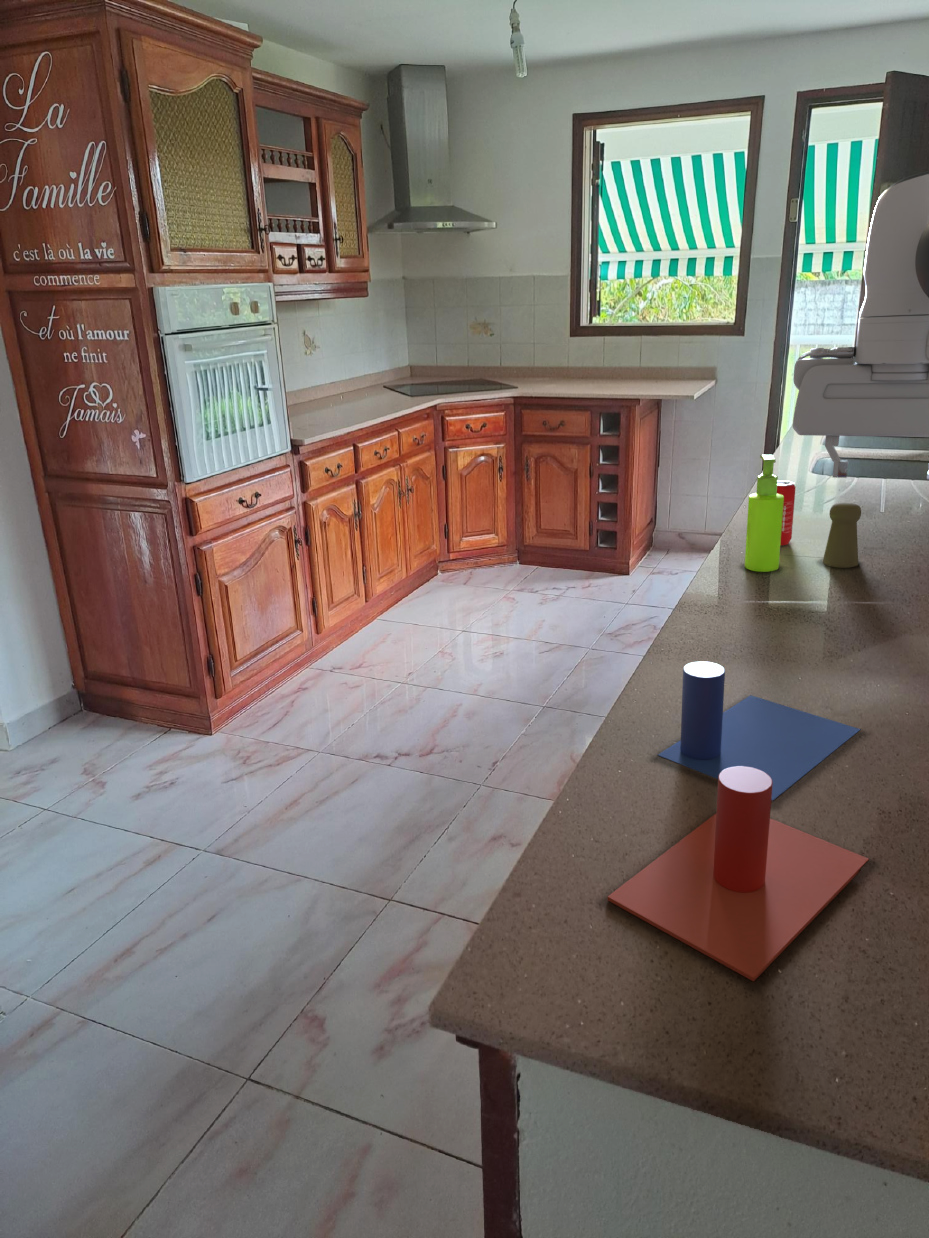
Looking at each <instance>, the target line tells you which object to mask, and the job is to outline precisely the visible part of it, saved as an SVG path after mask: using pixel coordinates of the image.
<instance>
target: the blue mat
mask: <svg viewBox="0 0 929 1238" xmlns="http://www.w3.org/2000/svg"><path fill="white" fill-rule="evenodd" d="M860 731H861V728H858V727H855V726H851V725H849V724H845V723H842V722H839V721H835V720H832V719H829V718H825V717H822V716H820V715H816V714H813V713H809V712H806V711H804V710H800V709H796V708H793V707H791V706H787V705H784V704H781V703H777V702H774V701H770V700H768V699H764V698H761V697H757V696H755V695H752V694H750V695H748V696H747V697H746V698H743V699H742V700H741V701H739V702H738V703H736V704H734V705H733V706H730V708H728V709H726V710H725V711H723V719H722V738H721V753H720V754H719V756H717V757H716V758H713V759H708V760H699V759H693V758H690V757H688V756H686V755H684V754H683V753H682V752H681V749H680V746H681V739H680V740H678V741H677V742H675V743H674V744H672V745H671V746H669V747H668V748H666V749H664V750H663V751H661V752H660V753H659V754H657V756H658V757H661V758H663V759H666V760H668V761H670V762H673V763H676V764H678V765H681V766H683V767H686V768H688V769H690V770H694V771H695V772H699V773H700V774H703V775H706V776H709V777H712V778H714V779H716V780H718V776H719V774H720V773H721V772H722V771H723V770H725V769H727V768H730V767H736V766H745V767H752V768H756V769H759V770H761V771H763V772H765V773H766V774H768V775H769V776H770V777H771V779H772V782H773V786H772V798H771V802H772V801H775V800H776V799H777V798H779V797H780V796H781V795H782V794H783V793H785V792H786V791H787V790H788V789H790V788H791V787H792V786H793V785H794V784H796V783H797V782H798V781H799V780H801V779H802V778H803V777H805V776H806V775H807V774H808V773H809V772H811V771H812V770H813V769H814V768H816V767H817V766H818V765H819V764H820V763H822V762H823V761H824V760H826V759H827V758H828V757H829V756H830V755H832V754H833V753H834V752H835V751H837V750H838V749H839V748H840V747H841V746H843V745H844V744H846V742H848V741H849V740H851V738H853V737H854V736H855V735H856V734H857V733H859V732H860Z"/></svg>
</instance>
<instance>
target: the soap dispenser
mask: <svg viewBox="0 0 929 1238" xmlns="http://www.w3.org/2000/svg"><path fill="white" fill-rule="evenodd" d="M759 458H760V459H761V460H762V463H763V464H762V473H760V474H759V475H757V477H756V492H754V493H751V494H749V495H748V502H747V519H746V521H747V522H746V538H745V554H744V568H745V569H746V570H749V571H752V572H758V573H759V572H760V573H769V572H774V571H777V570H778V569H779V568H780V555H781V546H780V543H781V530H782V517H783V503H784V496H783V495H781V494H778V493H777V481H778V480H779V479H778V478H779V477H778V475H777V474H775V473H774V465H775V463H776V457H775V455H774V454H760V455H759Z"/></svg>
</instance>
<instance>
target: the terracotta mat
mask: <svg viewBox="0 0 929 1238" xmlns="http://www.w3.org/2000/svg"><path fill="white" fill-rule="evenodd" d="M715 831H716V813H714V814H712V816H710V817H709V818H708V819H707V820H705V821H704V822H702V823H701V824H700V825H699V826H697V827H696V828H695V829H694V830H692V831H691V832H690V833H688V834H687V835H686V836H684V837H683V838H682V839H680V840H679V841H678V842H677V843H675V844H674V845H673V846H671V847H670V848H669V849H668V850H666V851H665V852H664V853H662V854H661V855H660V856H658V857H657V858H655V860H654V861H652V862H651V863H649V864H648V865H647V866H645V867H644V868H642V870H640V871H639V872H638V873H636V874H635V875H633V876H632V877H631V878H630V879H629V880H627V881H626V882H624V883H623V884H622V885H620V886H619V887H618V888H617V889H616V890H614V891H613V892H611V893H610V894H609V895H607V898H606V899H607V902H610V903H611V904H614V905H616V906H617V907H619V908H620V909H623V910H624V911H626V912H628V913H629V914H632V915H633V916H634V917H637V918H639V919H641V921H644V922H646V923H647V924H649V925H651V926H653V927H655V928H657V929H658V930H660V931H661V932H663V933H665V934H668V935H669V936H671V937H673V938H674V939H676V940H678V941H680V942H681V943H683V944H685V945H687V946H689V947H691V948H692V949H694V950H696V951H697V952H700V953H701V954H703V955H705V956H707V957H708V958H710V959H712V960H713V961H716V962H717V963H719V964H721V965H723V966H724V967H726V968H728V969H730V970H732V971H734V972H735V973H737V974H739V975H741V976H742V977H744V978H746V979H747V980H750V981H752V982H755V981H756V980H757V979H758V978H759V977H760V976H761V975H762V974H763V973H764V971H765V970H767V968H768V967H769V966H770V965H771V964H773V962H774V961H775V960H776V959H777V958H778V957H779V956H780V955H781V954H782V953H783V952H784V951H785V950H786V949H787V948H788V947H789V945H791V944H792V942H793V941H794V940H795V939H797V937H798V936H799V935H800V934H801V933H802V932H803V931H804V930H805V929H806V928H807V927H808V926H809V925H810V924H811V923H812V922H813V921H814V920H815V918H816V917H818V915H820V913H822V912H823V910H824V909H826V907H827V906H828V905H829V904H830V903H831V902H832V901H833V900H834V899H835V898H836V897H837V896H838V895H839V893H841V892H842V890H844V889H845V888H846V886H848V885H849V884H850V882H851V881H853V880H854V879H855V877H856V876H857V875H858V874H859V873H860V872H861V870H862V869H861V868H863V866H864V865H865V864H866V863H867V862H868V861H869V860H870V858H868V857H866V856H863V855H861V854H858V853H856V852H854V851H851V850H849V849H846V848H843V847H842V846H838V845H836V844H834V843H832V842H829V841H826V840H825V839H822V838H820V837H816V836H814V835H812V834H810V833H807V832H804V831H802V830H800V829H798V828H795V827H792V826H790V825H788V824H785V823H782V822H780V821H778V820H775V819H773V818H771V817H770V824H769V837H768V850H767V863H766V876H765V883H764V885H763V886H762V887H761V888H760V889H758V890H756V891H753V892H746V893H742V892H735V891H731V890H728V889H726V888H724V887H723V886H721V885H720V884H719V883H718V882H717V881H716V880H715V878H714V875H713V869H714V850H715Z"/></svg>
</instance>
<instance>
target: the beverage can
mask: <svg viewBox="0 0 929 1238" xmlns="http://www.w3.org/2000/svg"><path fill="white" fill-rule="evenodd" d="M795 484H796V483H795V482H794V481H792V480H787V479H778V481H777V493H778V494H781V495H783V496H784V503H783V517H782V530H781V543H780V547H784V546H788V545H789V544H790V542H791V540H792V538H793V537H792V536H793V527H794V526H793V525H794V524H793V523H794V513H795V500H796V485H795Z"/></svg>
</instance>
